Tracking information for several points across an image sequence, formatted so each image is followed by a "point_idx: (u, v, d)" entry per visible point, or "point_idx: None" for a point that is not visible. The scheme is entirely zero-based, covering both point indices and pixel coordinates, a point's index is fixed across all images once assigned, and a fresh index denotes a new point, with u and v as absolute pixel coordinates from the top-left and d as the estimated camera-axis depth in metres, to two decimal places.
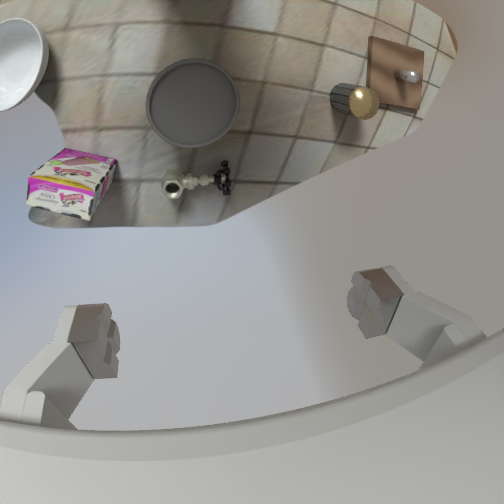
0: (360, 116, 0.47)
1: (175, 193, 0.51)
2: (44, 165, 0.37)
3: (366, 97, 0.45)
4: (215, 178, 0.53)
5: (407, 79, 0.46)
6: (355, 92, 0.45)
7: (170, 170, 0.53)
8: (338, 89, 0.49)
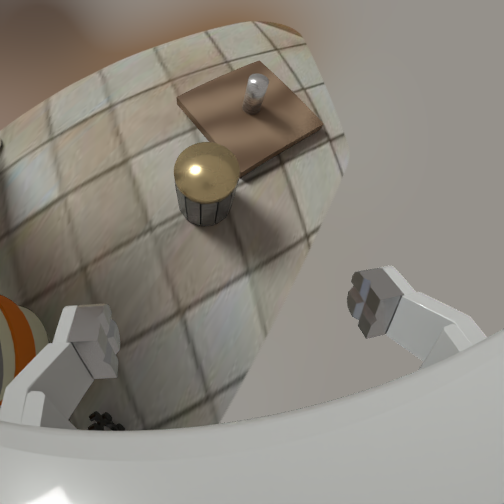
0: (216, 194, 0.27)
1: None
2: None
3: (202, 160, 0.27)
4: None
5: (255, 94, 0.33)
6: (176, 168, 0.27)
7: None
8: None
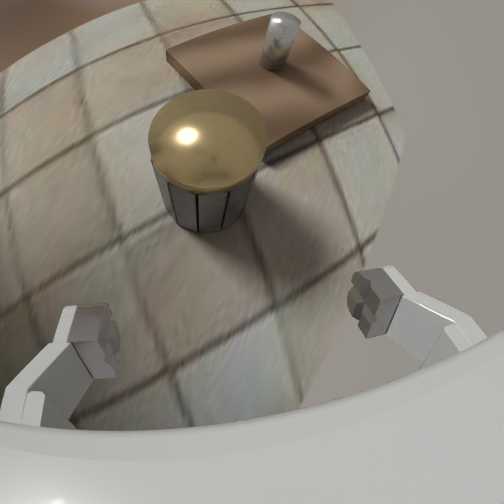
0: (225, 175, 0.14)
1: None
2: None
3: (199, 116, 0.14)
4: None
5: (281, 39, 0.20)
6: (153, 130, 0.14)
7: None
8: None
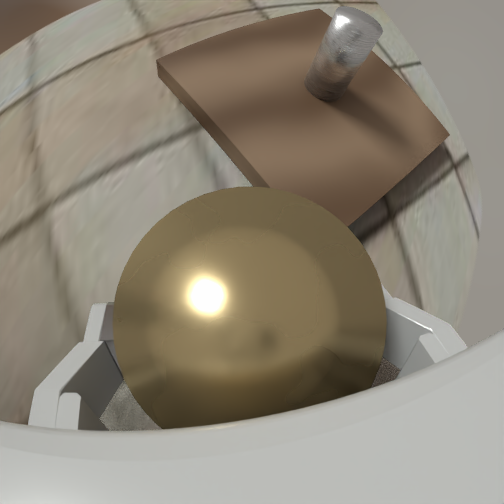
0: None
1: None
2: None
3: (235, 278, 0.06)
4: None
5: (352, 53, 0.12)
6: (123, 320, 0.06)
7: None
8: None
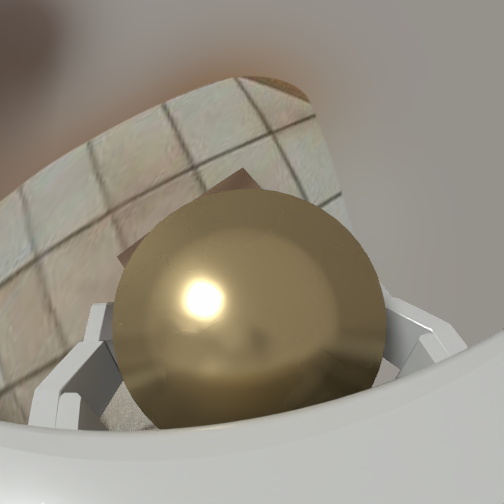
0: None
1: None
2: None
3: (235, 281, 0.06)
4: None
5: None
6: (122, 322, 0.06)
7: None
8: None
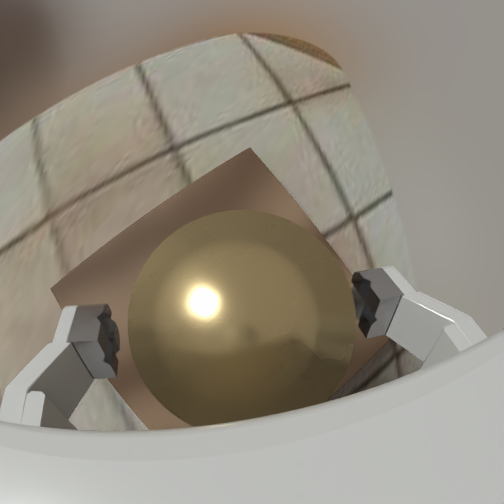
0: None
1: None
2: None
3: (227, 286, 0.08)
4: None
5: None
6: (136, 320, 0.07)
7: None
8: None
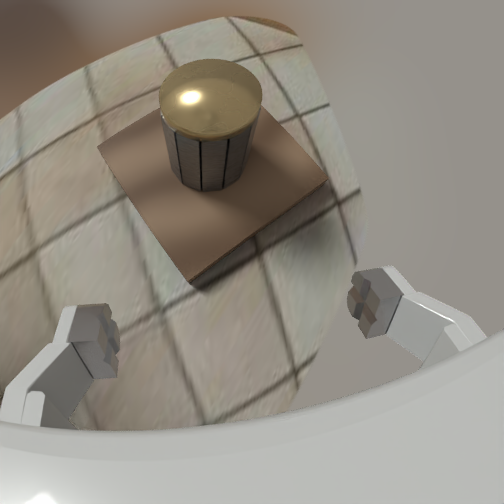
0: (225, 123, 0.15)
1: None
2: None
3: (203, 79, 0.16)
4: None
5: None
6: (163, 90, 0.15)
7: None
8: None
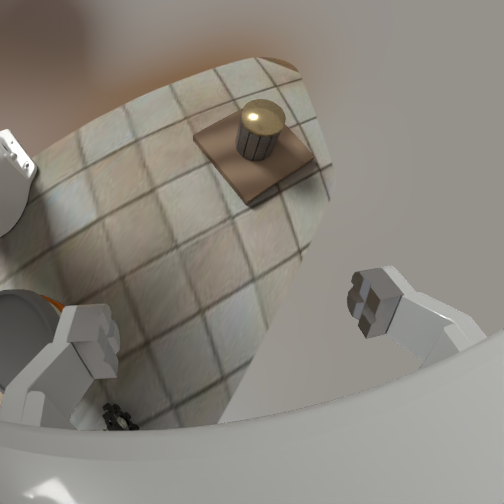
0: (271, 130, 0.39)
1: None
2: None
3: (260, 109, 0.39)
4: (109, 429, 0.32)
5: None
6: (243, 113, 0.39)
7: None
8: (237, 136, 0.44)
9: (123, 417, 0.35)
